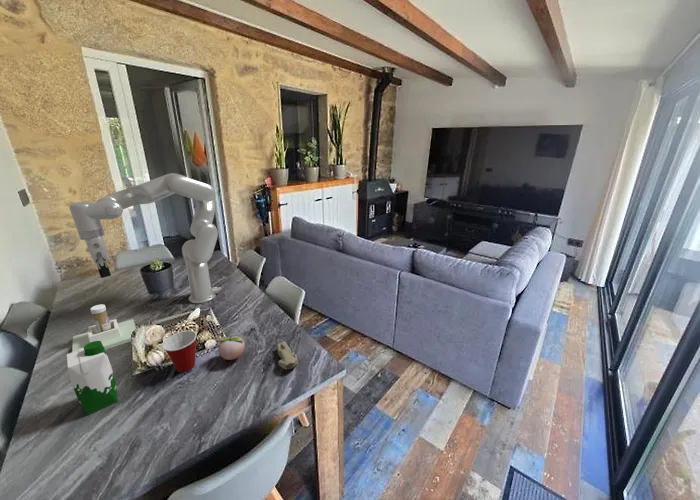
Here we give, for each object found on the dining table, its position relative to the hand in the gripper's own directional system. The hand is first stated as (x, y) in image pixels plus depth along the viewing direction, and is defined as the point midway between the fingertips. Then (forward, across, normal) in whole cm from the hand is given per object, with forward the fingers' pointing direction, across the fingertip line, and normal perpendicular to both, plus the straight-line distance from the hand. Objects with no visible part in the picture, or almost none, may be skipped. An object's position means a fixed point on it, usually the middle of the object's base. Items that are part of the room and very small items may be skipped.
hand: (104, 272), depth 119 cm
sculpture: (+26, -69, -42) cm, 85 cm away
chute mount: (+25, -9, +6) cm, 27 cm away
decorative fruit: (+26, -55, -27) cm, 67 cm away
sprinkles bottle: (+24, -9, +6) cm, 26 cm away
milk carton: (+25, -47, +10) cm, 54 cm away
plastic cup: (+26, -48, -13) cm, 56 cm away
